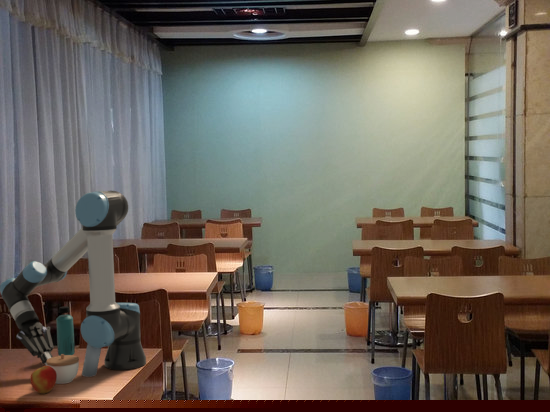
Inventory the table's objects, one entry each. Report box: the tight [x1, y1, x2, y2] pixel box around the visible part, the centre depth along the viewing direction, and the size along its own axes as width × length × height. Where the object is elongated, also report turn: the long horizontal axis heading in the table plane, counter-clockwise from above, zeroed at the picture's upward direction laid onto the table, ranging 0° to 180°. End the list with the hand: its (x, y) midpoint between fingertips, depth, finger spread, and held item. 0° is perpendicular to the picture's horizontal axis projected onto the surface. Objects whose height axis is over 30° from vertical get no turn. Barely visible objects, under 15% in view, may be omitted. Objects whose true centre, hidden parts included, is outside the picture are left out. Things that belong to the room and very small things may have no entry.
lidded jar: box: [46, 354, 80, 385], centre depth 250 cm, size 11×11×9 cm
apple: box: [30, 361, 57, 394], centre depth 238 cm, size 8×8×10 cm
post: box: [81, 342, 102, 378], centre depth 257 cm, size 5×5×12 cm
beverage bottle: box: [55, 306, 76, 356], centre depth 281 cm, size 6×7×20 cm
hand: (52, 369), depth 254 cm, fingers closed
